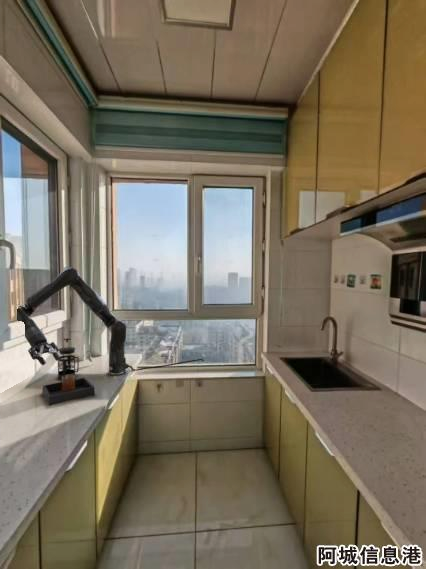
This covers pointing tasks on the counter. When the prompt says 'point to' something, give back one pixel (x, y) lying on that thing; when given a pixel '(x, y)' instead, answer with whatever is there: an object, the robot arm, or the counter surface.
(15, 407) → the counter surface
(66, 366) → the french press
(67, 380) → the brown cup
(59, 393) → the dark square tray
